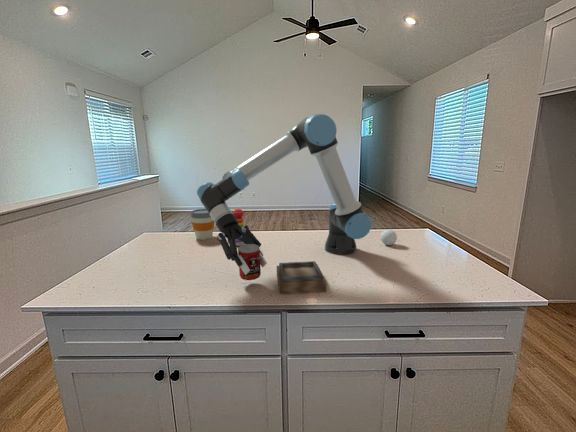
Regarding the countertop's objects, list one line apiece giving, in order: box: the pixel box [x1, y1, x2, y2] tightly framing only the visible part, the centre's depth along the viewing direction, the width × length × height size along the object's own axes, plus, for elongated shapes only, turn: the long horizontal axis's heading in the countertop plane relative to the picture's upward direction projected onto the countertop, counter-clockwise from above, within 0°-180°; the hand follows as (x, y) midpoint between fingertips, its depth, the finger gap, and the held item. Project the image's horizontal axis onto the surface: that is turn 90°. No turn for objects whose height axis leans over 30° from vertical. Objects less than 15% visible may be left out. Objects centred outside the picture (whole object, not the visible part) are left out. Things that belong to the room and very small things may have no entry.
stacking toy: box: [232, 208, 245, 247], centre depth 156 cm, size 8×8×19 cm
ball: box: [380, 229, 398, 246], centre depth 154 cm, size 8×8×8 cm
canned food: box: [237, 244, 262, 281], centre depth 109 cm, size 8×8×11 cm
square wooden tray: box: [276, 260, 327, 295], centre depth 111 cm, size 16×16×6 cm
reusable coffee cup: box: [190, 208, 215, 240], centre depth 169 cm, size 13×13×15 cm
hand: (256, 268), depth 108 cm, fingers closed on canned food, 8 cm apart
